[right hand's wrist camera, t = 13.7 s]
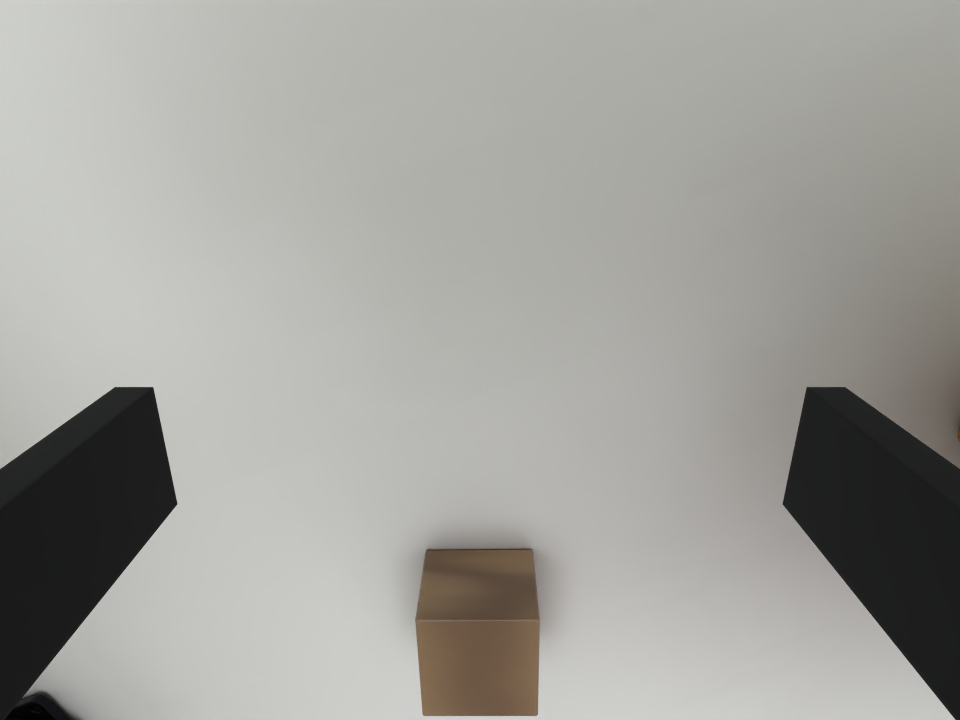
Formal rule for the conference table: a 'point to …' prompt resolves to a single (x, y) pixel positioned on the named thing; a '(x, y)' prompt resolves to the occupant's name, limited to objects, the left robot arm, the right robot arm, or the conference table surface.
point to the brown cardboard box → (478, 633)
